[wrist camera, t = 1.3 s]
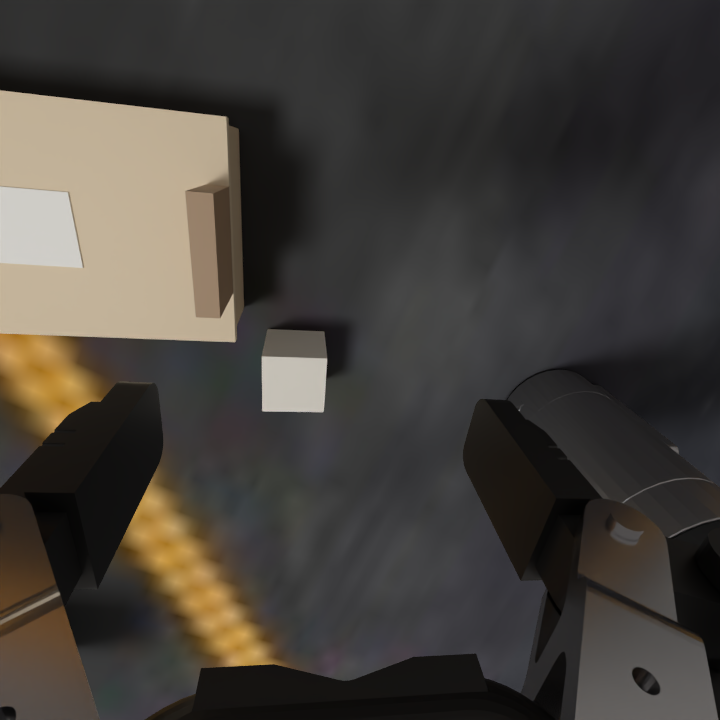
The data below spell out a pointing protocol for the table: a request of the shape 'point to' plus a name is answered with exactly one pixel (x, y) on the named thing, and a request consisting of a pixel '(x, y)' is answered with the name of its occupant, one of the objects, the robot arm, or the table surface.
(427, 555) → the table surface
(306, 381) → the block
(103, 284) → the lid
